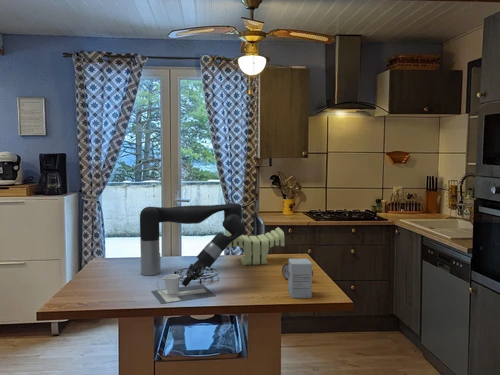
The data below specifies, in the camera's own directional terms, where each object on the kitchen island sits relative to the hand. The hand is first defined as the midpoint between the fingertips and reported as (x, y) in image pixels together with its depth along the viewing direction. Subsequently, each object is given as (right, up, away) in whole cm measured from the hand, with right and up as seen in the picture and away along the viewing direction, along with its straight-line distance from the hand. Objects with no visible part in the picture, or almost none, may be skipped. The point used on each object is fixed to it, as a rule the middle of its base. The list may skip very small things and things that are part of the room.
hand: (183, 284), depth 201 cm
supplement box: (+50, -4, 0) cm, 50 cm away
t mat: (0, -4, +1) cm, 4 cm away
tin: (+51, -2, +21) cm, 55 cm away
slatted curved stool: (+31, +1, +54) cm, 62 cm away
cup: (-6, -4, -1) cm, 7 cm away
